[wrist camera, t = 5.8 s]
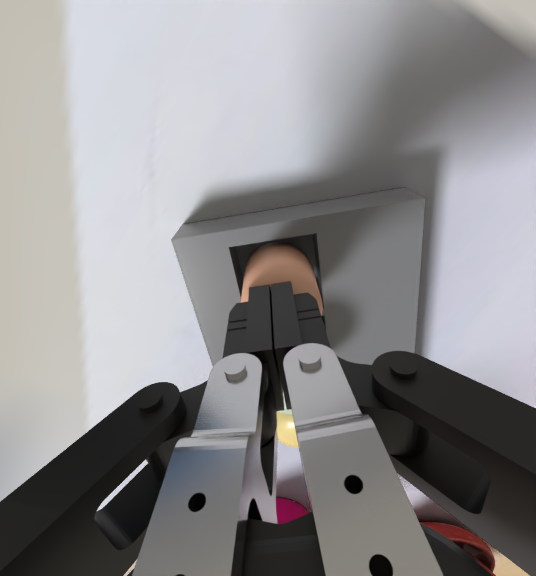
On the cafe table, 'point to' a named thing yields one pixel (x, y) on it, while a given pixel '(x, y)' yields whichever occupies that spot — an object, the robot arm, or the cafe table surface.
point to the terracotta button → (280, 270)
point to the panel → (319, 267)
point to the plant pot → (466, 543)
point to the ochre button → (286, 429)
